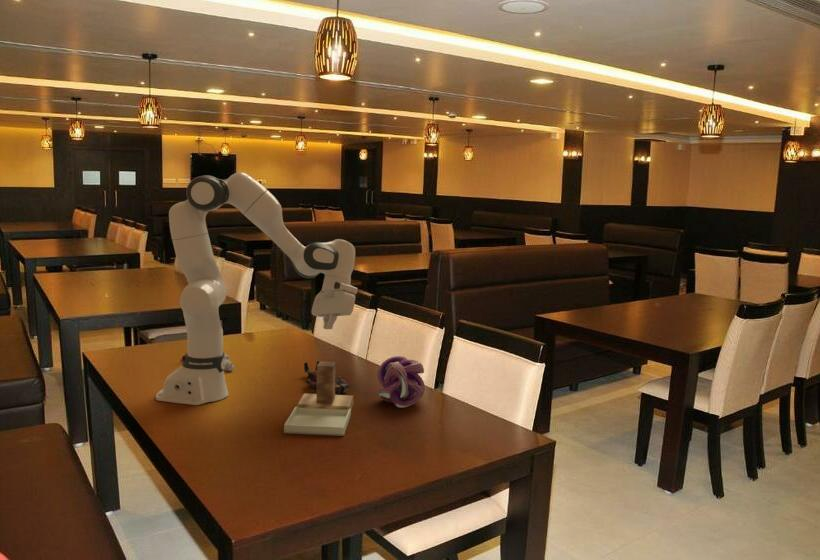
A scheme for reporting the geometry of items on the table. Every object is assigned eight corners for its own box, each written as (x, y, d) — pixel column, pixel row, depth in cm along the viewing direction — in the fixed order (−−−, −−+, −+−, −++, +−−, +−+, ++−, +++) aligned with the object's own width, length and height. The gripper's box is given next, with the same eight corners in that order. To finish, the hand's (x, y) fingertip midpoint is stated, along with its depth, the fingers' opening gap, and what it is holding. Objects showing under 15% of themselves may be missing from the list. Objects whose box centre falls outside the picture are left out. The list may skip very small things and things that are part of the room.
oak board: (297, 413, 192) (297, 404, 192) (304, 402, 202) (304, 393, 202) (349, 415, 192) (349, 406, 191) (353, 404, 202) (353, 395, 201)
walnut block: (316, 403, 193) (316, 365, 191) (319, 397, 198) (319, 361, 196) (332, 403, 193) (333, 366, 191) (334, 398, 198) (335, 362, 196)
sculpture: (425, 418, 198) (433, 379, 215) (412, 377, 191) (421, 340, 208) (379, 422, 202) (390, 384, 219) (364, 382, 195) (378, 345, 212)
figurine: (328, 360, 233) (358, 382, 207) (328, 375, 234) (357, 399, 207) (295, 363, 227) (321, 386, 201) (295, 378, 228) (321, 403, 202)
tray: (284, 433, 177) (284, 424, 176) (295, 413, 192) (296, 405, 192) (343, 436, 176) (343, 427, 176) (350, 416, 192) (350, 408, 191)
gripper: (311, 287, 212) (303, 327, 209) (344, 283, 196) (336, 326, 193) (327, 292, 216) (319, 331, 212) (360, 288, 200) (352, 330, 197)
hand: (327, 329), depth 203 cm, fingers closed
